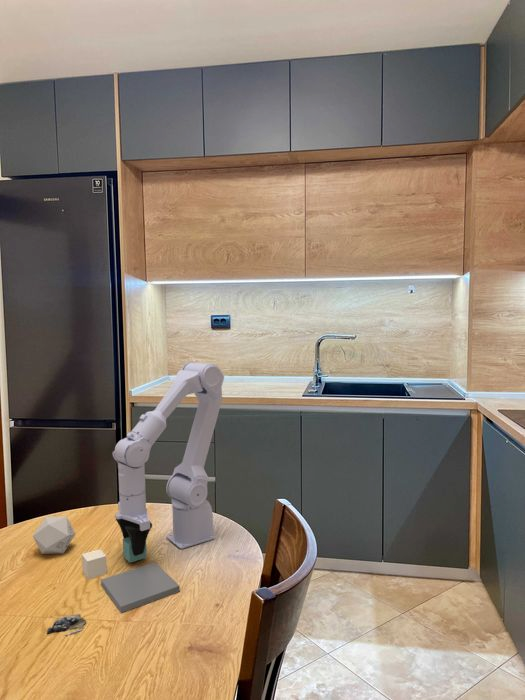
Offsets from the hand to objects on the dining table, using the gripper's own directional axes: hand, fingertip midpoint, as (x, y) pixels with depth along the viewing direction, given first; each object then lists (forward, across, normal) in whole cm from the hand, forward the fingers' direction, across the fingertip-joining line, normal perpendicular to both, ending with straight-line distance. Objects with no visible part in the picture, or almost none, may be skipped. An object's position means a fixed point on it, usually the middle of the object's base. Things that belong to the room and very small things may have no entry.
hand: (134, 550), depth 112 cm
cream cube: (+2, 0, -9) cm, 9 cm away
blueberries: (+3, +16, -20) cm, 26 cm away
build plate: (+2, +12, -4) cm, 13 cm away
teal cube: (+2, 0, 0) cm, 2 cm away
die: (+2, -16, -14) cm, 21 cm away
